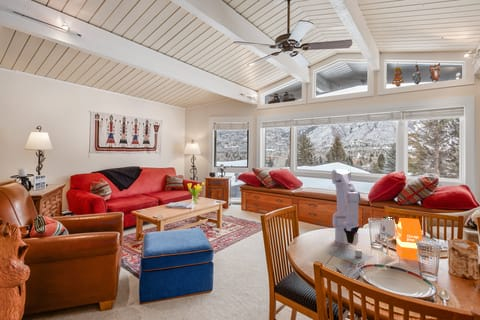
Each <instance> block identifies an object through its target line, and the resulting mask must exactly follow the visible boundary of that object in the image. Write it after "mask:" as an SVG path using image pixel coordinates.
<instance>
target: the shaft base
mask: <svg viewBox="0 0 480 320" xmlns="http://www.w3.org/2000/svg"><path fill="white" fill-rule="evenodd" d="M325 253H327V254H328V255H332V256H333V257H336V258H338V259H341V260H343V261H345V262H348V263H350V264H353V265H357V264H360V263H362V262H365V261H368V260H370V259H372V258H374V256H373V255H370V254H367V253H363V250H362V249H358V248H355V249H353V248H350V247H347V246H342V247H339V248H335V249H333V250H330V251H327V252H325Z"/></svg>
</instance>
